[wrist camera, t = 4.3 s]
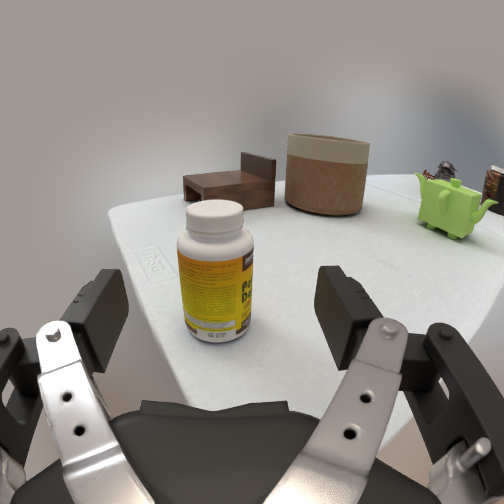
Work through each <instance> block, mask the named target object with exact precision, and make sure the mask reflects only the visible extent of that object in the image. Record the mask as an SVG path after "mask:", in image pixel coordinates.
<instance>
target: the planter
mask: <svg viewBox="0 0 504 504" xmlns="http://www.w3.org/2000/svg"><path fill="white" fill-rule="evenodd" d="M369 146H370V144H369V143H367V142H363V141H358V140H353V139H346V138H340V137H333V136H324V135H313V134H298V133H291V134H289V135H288V150H287V168H286V183H285V200H286V201H287V202H288V203H289V204H290V205H292V206H294V207H296V208H299V209H301V210H304V211H307V212H311V213H316V214H322V215H335V216H338V215H348V214H353V213H356V212H358V211H360V210H361V209H362V204H363V197H364V190H365V182H366V173H367V165H368V156H369Z"/></svg>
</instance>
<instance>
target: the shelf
mask: <svg viewBox="0 0 504 504" xmlns="http://www.w3.org/2000/svg"><path fill="white" fill-rule="evenodd" d="M275 175H276V159H272V158H268V157H264V156H260V155H255V154H251V153H246V152H241V170H237V171H225V172H214V173H205V174H195V175H186V176H183V182H184V183H183V187H184V200H185V201H191V200H198V199H201V201H205V200H228V201H233V202H237V203H239V204H240V205H242V207H243V210H249V209H256V208H263V207H270V206H274V195H275Z"/></svg>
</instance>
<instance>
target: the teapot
mask: <svg viewBox="0 0 504 504" xmlns="http://www.w3.org/2000/svg"><path fill="white" fill-rule="evenodd" d="M415 174H416V175H417V176H418V178H419V180H420V189H421V198H422V201H421V206H420V211H419V216H418V219H419V220H422V221H424V222H426V223H429V224H428V225H427V226H426V227H427V228H429V229H433V230H435V229H436V227H438V228H440V229H442V230H445V231H447V232H448V234H447V236H448V237H449V238H451V239H457V236H458V237H460V238H463V237H465V236H466V235H468V234H469V233H471V232H472V231H473V228H474V225H475V224H476V223H478V222H479V221H480V220H481V219H482V218H483V216H484V214H485V212H486V211H487V209H488V208H489V207H490V206H491V205H492V204H496V203H498V202H496V201H493V200H490V199H488V200H486V201H485V202H484V203H483V205H482V206H481V208H480V209H479V210H478V208H479V204H480V199H481V194H479V193H477V192H474V191H472V190H469V189H466V188H464V187H461V186H460V185H461V181H460V180H457V179H454V178H451V183H450V182H447V181H444V180H441V179H438V180H425V177H424V176H423V175H421V174H419V173H415Z"/></svg>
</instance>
